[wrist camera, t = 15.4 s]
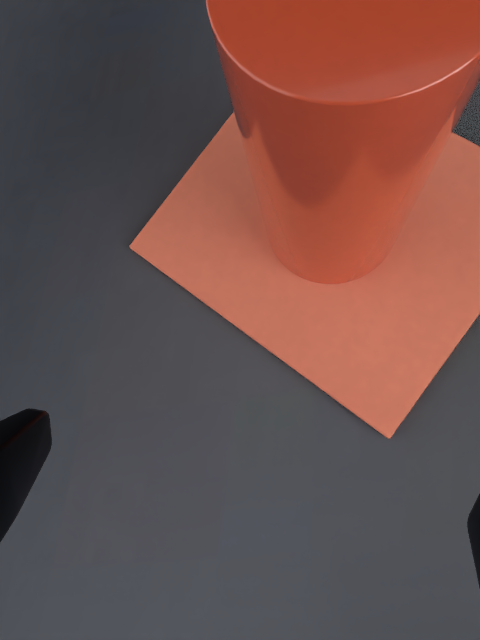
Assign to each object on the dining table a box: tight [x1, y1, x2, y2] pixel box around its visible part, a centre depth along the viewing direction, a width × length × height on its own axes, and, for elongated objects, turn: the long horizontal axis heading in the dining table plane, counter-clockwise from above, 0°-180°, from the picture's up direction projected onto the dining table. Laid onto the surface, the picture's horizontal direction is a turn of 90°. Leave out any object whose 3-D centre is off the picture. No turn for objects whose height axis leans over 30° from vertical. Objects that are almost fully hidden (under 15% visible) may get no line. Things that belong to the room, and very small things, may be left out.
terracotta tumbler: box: [206, 0, 480, 284], centre depth 15 cm, size 6×6×13 cm
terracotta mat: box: [129, 112, 480, 439], centre depth 22 cm, size 16×14×1 cm
